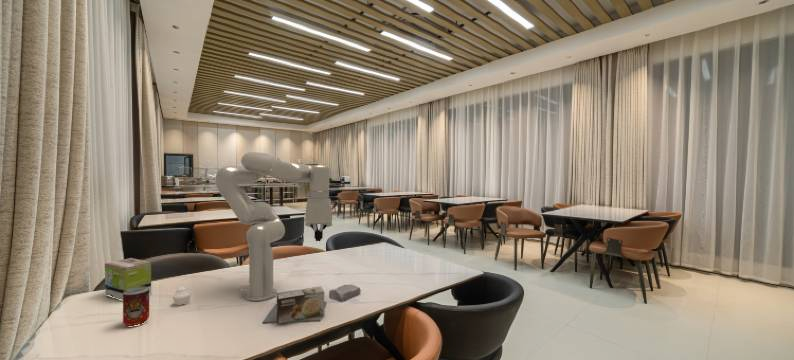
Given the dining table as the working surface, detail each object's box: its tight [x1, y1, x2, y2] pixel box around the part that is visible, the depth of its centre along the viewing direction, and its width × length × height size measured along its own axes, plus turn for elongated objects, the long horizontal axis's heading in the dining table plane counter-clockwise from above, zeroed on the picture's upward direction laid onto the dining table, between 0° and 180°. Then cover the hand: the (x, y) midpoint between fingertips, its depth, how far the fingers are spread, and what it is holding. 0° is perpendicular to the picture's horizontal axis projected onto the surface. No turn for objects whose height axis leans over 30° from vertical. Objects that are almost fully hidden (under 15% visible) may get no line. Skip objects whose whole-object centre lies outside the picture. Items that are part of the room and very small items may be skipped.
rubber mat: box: [262, 300, 327, 324], centre depth 117 cm, size 20×16×1 cm
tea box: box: [104, 257, 152, 300], centre depth 132 cm, size 15×10×15 cm, turn 68°
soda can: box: [122, 286, 150, 327], centre depth 108 cm, size 7×7×12 cm
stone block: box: [328, 284, 362, 303], centre depth 134 cm, size 12×5×10 cm
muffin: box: [172, 286, 192, 306], centre depth 124 cm, size 6×6×7 cm
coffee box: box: [276, 286, 325, 325], centre depth 112 cm, size 9×6×16 cm
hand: (318, 240), depth 125 cm, fingers closed
